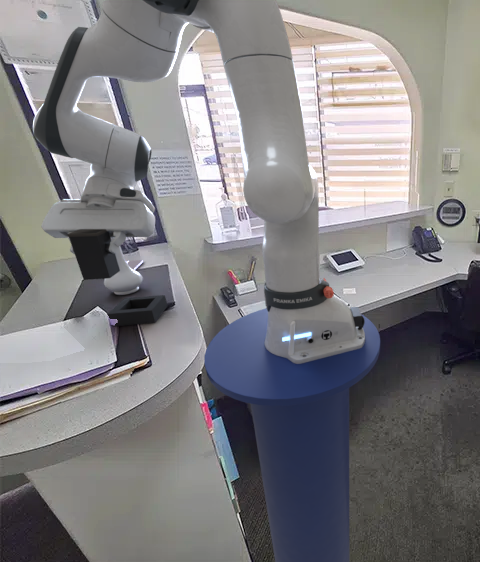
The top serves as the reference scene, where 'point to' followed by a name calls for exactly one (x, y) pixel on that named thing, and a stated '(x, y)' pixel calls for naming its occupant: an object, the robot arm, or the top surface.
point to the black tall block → (93, 253)
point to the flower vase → (123, 277)
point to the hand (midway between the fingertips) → (93, 252)
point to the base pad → (138, 310)
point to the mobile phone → (134, 264)
